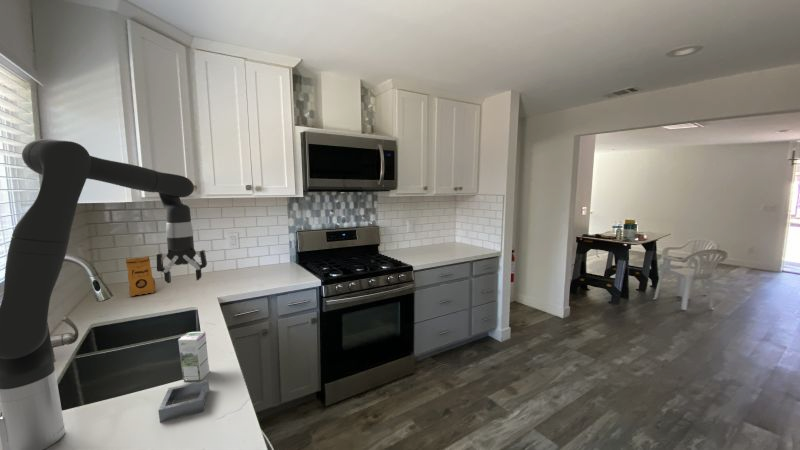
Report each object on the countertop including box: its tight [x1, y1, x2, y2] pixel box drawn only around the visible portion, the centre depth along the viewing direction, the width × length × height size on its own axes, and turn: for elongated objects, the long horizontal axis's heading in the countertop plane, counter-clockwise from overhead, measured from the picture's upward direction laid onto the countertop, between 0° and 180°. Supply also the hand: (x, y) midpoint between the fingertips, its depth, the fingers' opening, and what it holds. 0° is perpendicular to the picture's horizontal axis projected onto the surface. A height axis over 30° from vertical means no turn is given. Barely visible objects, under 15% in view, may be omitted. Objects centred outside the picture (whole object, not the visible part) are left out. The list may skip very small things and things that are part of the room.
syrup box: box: [177, 331, 210, 382], centre depth 106 cm, size 6×6×14 cm
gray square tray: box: [157, 379, 211, 423], centre depth 92 cm, size 10×10×4 cm
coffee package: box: [125, 256, 157, 297], centre depth 188 cm, size 10×12×22 cm
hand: (184, 281), depth 113 cm, fingers open, 8 cm apart
